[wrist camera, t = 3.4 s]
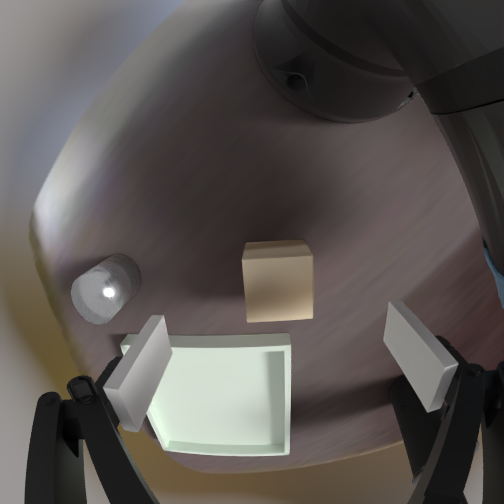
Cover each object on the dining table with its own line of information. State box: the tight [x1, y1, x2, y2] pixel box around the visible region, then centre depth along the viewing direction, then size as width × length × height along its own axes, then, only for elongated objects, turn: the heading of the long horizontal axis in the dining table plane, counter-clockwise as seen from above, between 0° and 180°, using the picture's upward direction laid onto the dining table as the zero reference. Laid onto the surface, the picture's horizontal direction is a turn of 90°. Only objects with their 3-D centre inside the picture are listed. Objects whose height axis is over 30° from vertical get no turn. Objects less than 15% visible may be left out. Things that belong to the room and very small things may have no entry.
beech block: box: [242, 239, 313, 322], centre depth 23 cm, size 5×5×5 cm
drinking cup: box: [389, 375, 479, 504], centre depth 20 cm, size 8×8×20 cm
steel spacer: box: [71, 254, 141, 324], centre depth 23 cm, size 4×4×6 cm
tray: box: [120, 333, 291, 456], centre depth 29 cm, size 19×17×2 cm
